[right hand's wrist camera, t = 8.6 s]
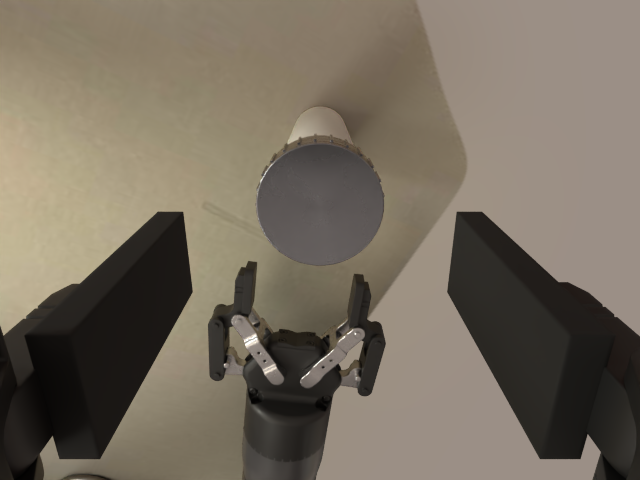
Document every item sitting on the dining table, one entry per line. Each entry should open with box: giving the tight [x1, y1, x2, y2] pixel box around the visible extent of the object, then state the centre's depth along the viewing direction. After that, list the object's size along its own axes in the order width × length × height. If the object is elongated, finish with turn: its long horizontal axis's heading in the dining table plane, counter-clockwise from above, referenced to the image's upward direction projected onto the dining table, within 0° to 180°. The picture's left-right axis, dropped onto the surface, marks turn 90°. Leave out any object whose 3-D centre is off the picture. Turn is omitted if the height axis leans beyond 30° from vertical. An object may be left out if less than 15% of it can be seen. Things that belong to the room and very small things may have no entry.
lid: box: [256, 134, 384, 265], centre depth 19 cm, size 5×5×2 cm
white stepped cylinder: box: [287, 106, 353, 145], centre depth 28 cm, size 4×4×20 cm
